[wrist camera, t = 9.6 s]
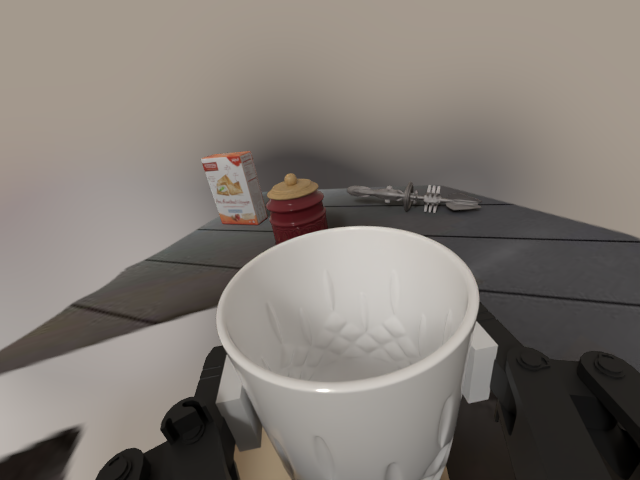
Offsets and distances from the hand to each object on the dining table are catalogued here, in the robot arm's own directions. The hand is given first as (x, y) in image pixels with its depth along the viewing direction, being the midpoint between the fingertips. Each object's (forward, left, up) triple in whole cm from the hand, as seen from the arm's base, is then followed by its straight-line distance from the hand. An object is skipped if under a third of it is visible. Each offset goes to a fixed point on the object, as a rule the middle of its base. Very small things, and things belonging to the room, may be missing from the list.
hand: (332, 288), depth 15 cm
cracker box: (-37, +67, -22) cm, 79 cm away
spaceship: (+12, +63, -22) cm, 68 cm away
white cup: (+1, -5, -6) cm, 8 cm away
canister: (-14, +47, -22) cm, 53 cm away
